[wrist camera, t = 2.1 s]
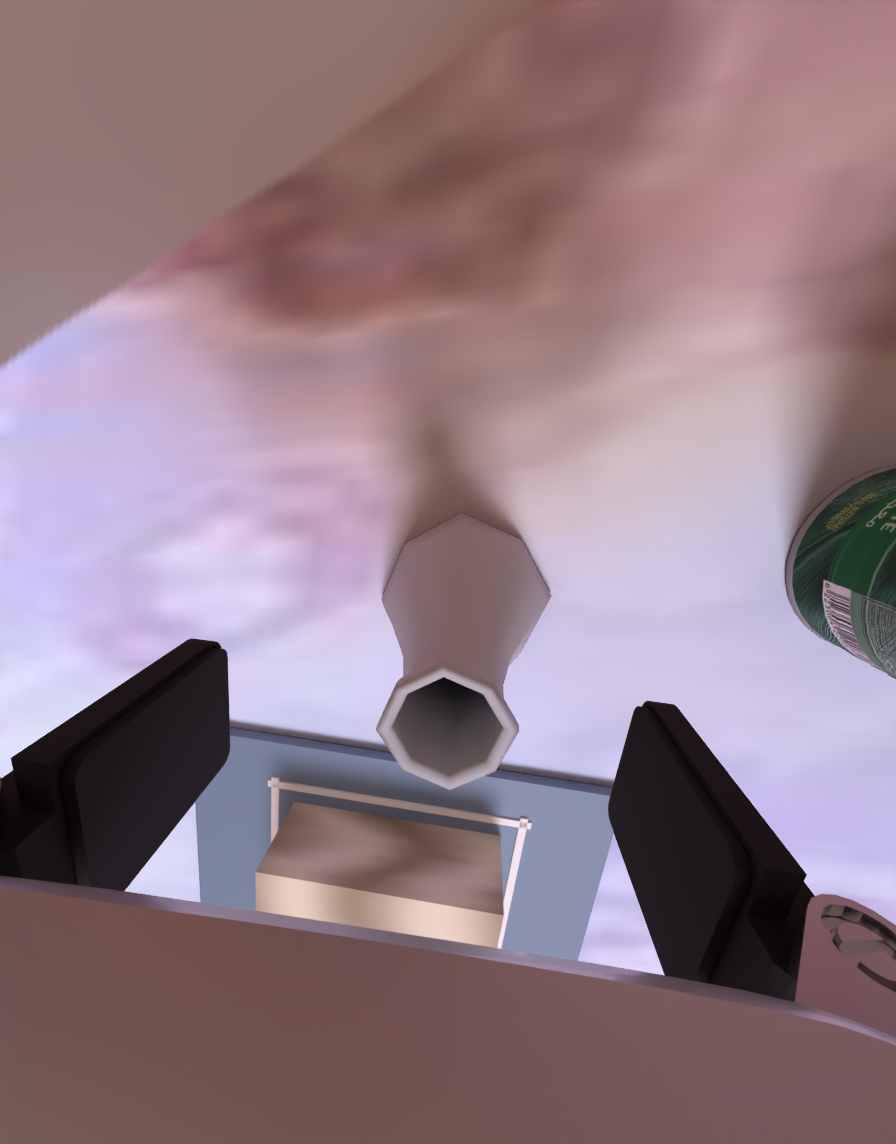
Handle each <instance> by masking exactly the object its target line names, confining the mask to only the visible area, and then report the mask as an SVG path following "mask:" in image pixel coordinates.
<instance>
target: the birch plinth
mask: <svg viewBox="0 0 896 1144" xmlns="http://www.w3.org/2000/svg"><path fill="white" fill-rule="evenodd" d="M256 911H260V912H267V913H273V914H280V915H287V916H293V917H300V918H306V919H313V920H319V921H326V922H332V923H339V924H345V925H352V926H358V927H365V928H371V929H378V930H384V931H391V932H397V933H404V934H410V935H417V936H423V937H430V938H436V939H442V940H449V941H455V942H462V943H468V944H474V945H481V946H487V947H493V948H497V946H498V941H499V936H500V932H501V927H502V922H503V917H504V907H503V882H502V857H501V836H499V835H493V834H487V833H481V832H475V831H468V830H462V829H456V828H450V827H444V826H438V825H432V824H426V823H420V822H414V821H408V820H402V819H396V818H390V817H384V816H378V815H372V814H366V813H360V812H354V811H348V810H342V809H336V808H330V807H324V806H318V805H312V804H306V803H300V802H294V803H293V805H292V806H291V808H290V810H289V812H288V814H287V816H286V817H285V819H284V821H283V823H282V825H281V826H280V828H279V830H278V832H277V834H276V836H275V837H274V839H273V841H272V843H271V845H270V847H269V848H268V850H267V852H266V854H265V856H264V857H263V859H262V861H261V863H260V865H259V867H258V868H257V870H256Z"/></svg>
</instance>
